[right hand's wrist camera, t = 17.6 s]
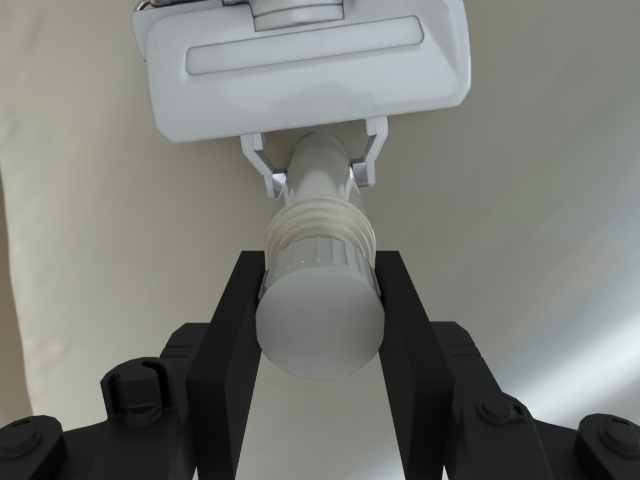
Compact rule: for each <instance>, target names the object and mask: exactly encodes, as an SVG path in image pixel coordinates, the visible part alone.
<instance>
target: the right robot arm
mask: <svg viewBox="0 0 640 480" xmlns="http://www.w3.org/2000/svg"><path fill="white" fill-rule="evenodd" d="M264 274H265V251H242V252H241V254H240V256H239V259H238V261H237V263H236V265H235V268H234V270H233V272H232V274H231V277H230V279H229V281H228V283H227V286H226V288H225V290H224V293H223V295H222V297H221V299H220V302H219V304H218V306H217V308H216V311H215V313H214V315H213V318H212V320H211V322H210V323H185V324H184V325H183V326H181V327H180V328H179V329H177V330H176V331H175V332H174V333H172V335H171V337H170V339H169V340H168V342H167V344H166V346H165V348H164V349H163V351H162V353H161V354H160V358H158V357H142V358H137V359H132V360H129V361H127V362H124V363H122V364H120V365H117V366H116V367H115V368H113V369H112V370H110V371H109V372H108V373H106V375H105V376H104V378H103V379H102V380H101V382H100V384H101V389H102V393H103V398H104V402H105V407H106V411H107V416H108V418H107V420H106V421H104V422H101V423H97V424H94V425H90V426H86V427H82V428H78V429H73V430H69V431H65V432H63V430H62V426H61V423H60V422H59V421H58V420H57V419H56V418H55V417H50V416H45V415H40V416H30V417H26V418H23V419H20V420H17V421H14V422H12V423H10V424H8V425H6V426H4V427H3V428H1V429H0V480H192V479H193V476H194V472H195V469H196V466H197V472H198V479H199V480H235V476H236V471H237V466H238V462H239V457H240V452H241V447H242V443H243V438H244V433H245V428H246V424H247V419H248V414H249V409H250V404H251V400H252V395H253V390H254V385H255V381H256V376H257V371H258V366H259V362H260V357H261V352H262V349H261V347H260V345H259V343H258V340H257V332H256V310H257V306H258V302H259V299H258V295H259V292H260V288H261V284H262V281H263V277H264ZM375 274H376V277H377V281H378V284H379V288H380V292H381V296H380V297H381V301H382V305H383V308H384V312H385V320H384V336H383V341H382V344H381V346H380V348H379V350H378V351H379V356H380V360H381V365H382V370H383V375H384V379H385V384H386V389H387V394H388V398H389V403H390V408H391V413H392V418H393V422H394V427H395V432H396V437H397V441H398V446H399V451H400V456H401V460H402V465H403V470H404V475H405V479H406V480H442V474H443V467H444V466H445V469H446V473H447V476H448V479H449V480H640V426H638V425H636V424H634V423H632V422H630V421H629V420H626V419H623V418H620V417H617V416H614V415H609V414H598V413H597V414H592V415H587V416H585V417H584V418H583V419H582V420H581V421H580V424H579V427H578V430H574V429H570V428H566V427H562V426H557V425H553V424H549V423H545V422H542V421H539V420H536V419H534V418H533V417H532V415H531V414H530V412H529V411H528V409H527V407H526V406H525V405H523V404H522V403H521V402H520V401H518V400H517V399H516V398H514V397H512V396H510V395H508V394H506V393H504V392H502V391H501V389H500V387H499V385H498V384H497V382H496V380H495V378H494V377H493V375H492V373H491V371H490V370H489V368H488V366H487V364H486V363H485V361H484V359H483V357H481V354H480V352H479V350H478V349H477V347H475V343H474V342H473V340H472V338H471V336H470V335H469V333H468V332H467V331H466V330H465V329H463V328H462V327H461V326H460V325H458V324H457V323H456V322H430V321H429V319H428V317H427V315H426V312H425V310H424V308H423V306H422V303H421V301H420V299H419V296H418V294H417V292H416V290H415V287H414V285H413V283H412V281H411V278H410V276H409V274H408V272H407V269H406V267H405V265H404V262H403V260H402V258H401V256H400V253H399V251H376V257H375Z"/></svg>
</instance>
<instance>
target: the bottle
mask: <svg viewBox="0 0 640 480" xmlns="http://www.w3.org/2000/svg"><path fill="white" fill-rule="evenodd" d="M317 237H320V238H330V239H331V238H334V239H335V240H339V241H341V242H347V244H348V245H350V246H352V247H353V248H355V249H356V248H357V249H358V250H359V252H360V253H361V254H362V255H363V256H364V257H365V258H366V257H367V258H368V261H369V264H370V266H371V267H373V264H374V259H375V254H376V240H375V235H374V231H373V228H372V225H371V222H370V219H369V216H368V214H367V211H366V208H365V205H364V202H363V199H362V196H361V193H360V190H359V187H358V184H357V181H356V178H355V175H354V172H353V169H352V167H351V164H350V161H349V158H348V155H347V152H346V149H345V147H344V145H343V144H342V143H341V141H340V140H339V139H337V138H336V137H335V136H333V135H331V134H328V133H323V132H317V133H312V134H309V135H307V136H306V137H304V138H303V139H302V140H300V142H299V143H298V144H297V146H296V147H295V149H294V152H293V155H292V158H291V161H290V164H289V167H288V170H287V173H286V176H285V179H284V182H283V185H282V188H281V191H280V194H279V197H278V200H277V203H276V206H275V209H274V212H273V215H272V217H271V220H270V223H269V226H268V229H267V232H266V236H265V241H264V251H265V258H266V262H267V267H268V268H269V265H270V262H271V260H274V259H275V257H276V256H277V255H278V254H279V252H280V251H283V250H284V249H285V248H287V247H288V246H290V244H291V243H293V244H294V243H296V242H299V241H302V240H303V239H305V238H306V239H311V238H317Z"/></svg>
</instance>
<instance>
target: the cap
mask: <svg viewBox="0 0 640 480" xmlns="http://www.w3.org/2000/svg"><path fill="white" fill-rule="evenodd" d="M380 296H381V292H380V288H379V284H378V281H377V277H376V274H375V270H374V268H372V267H371V266H370V264H369V261H368V258H367V257H366V258H365V257H364V256H363V255H362V254H361V253H360V252H359V250H358V249H357V248H356V249H355V248H353V247H352V246H350V245H348V244H347V242H341V241H339V240H335V239H334V238H331V239H330V238H320V237H317V238H311V239H306V238H305V239H303V240H302V241H299V242H296V243H294V244H293V243H291V244H290V246H288V247H287V248H285V249H284V250H283V251H280V252H279V254H278V255H277V256H276V257H275V259H274V260H271V262H270V265H269V268H268V270H267V271H265V274H264V277H263V281H262V284H261V288H260V292H259V295H258V299H259V302H258V306H257V310H256V332H257V340H258V343H259V345H260V347H261V349H262V351H263V352H264V354H265V355H266V356H267V358H268V359H269V360H270V361H271V362H272V363H273V364H274V365H276V366H277V367H278V368H280V369H281V370H283V371H285V372H286V373H289V374H291V375H293V376H296V377H299V378H303V379H308V380H317V381H320V380H333V379H337V378H342V377H344V376H347V375H350V374H352V373H354V372H356V371H357V370H359V369H361V368H362V367H363V366H365V365H366V364H367V363H368V362H369V361H370V360H371V359H372V358H373V357H374V356H375V354H376V353H377V351H378V350H379V348H380V346H381V344H382V341H383V336H384V320H385V312H384V308H383V305H382V301H381V297H380Z"/></svg>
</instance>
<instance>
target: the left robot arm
mask: <svg viewBox="0 0 640 480" xmlns="http://www.w3.org/2000/svg"><path fill="white" fill-rule="evenodd" d="M181 3H186V4H181ZM149 4H151V6H152V7H154V8H152V9H146V10H143V9H144V8H145V7H146V6H147V5H149ZM176 4H179V5H176ZM132 27H133V31H134V35H135V39H136V43H137V47H138V50H139V52H140V54H141V56H142V58H143V59H144V60H145V62H146V70H147V80H148V88H149V95H150V101H151V107H152V112H153V117H154V122H155V126H156V129H157V131H158V132H159V133H160V134H161V135H162V136H163V137H164V138H165V139H166V140H168V141H169V142H170V143H172V144H180V143H188V142H195V141H203V140H210V139H218V138H225V137H233V136H240V140H241V146H242V151H243V154H244V155H245V156H246V157H247V158H248V159H249V161H250V162H251V163H252V164H253V165H254V167H255V168H256V169H257V170H258V171H259V172H260V174H261V175H264V179H265V185H266V190H267V196H268V198H269V199H273V198H278V197H279V194H280V191H281V188H282V185H283V182H284V179H285V176H286V173H287V168H279V169H275V167H274V166H273V165H272V163H271V162H270V161H269V159H268V158H267V157H266V156H265V154H264V153H263V152H262V149H263V147H264V146H265V145H266V137H265V132H270V131H278V130H285V129H293V128H300V127H308V126H315V125H323V124H330V123H338V122H345V121H353V120H360V119H363V124H364V131H365V132H366V134H367V135H369V136H371V137H370V139H369V141H368V144H367V146H366V148H365V151H364V153H363V155H362V158H357V159H351V167H352V169H353V172H354V175H355V178H356V181H357V184H358V187H368V186H375V172H374V161H376V158H377V156H378V154H379V152H380V150H381V148H382V146H383V144H384V142H385V140H386V137H387V135H388V123H387V116H390V115H398V114H405V113H412V112H420V111H427V110H435V109H442V108H450V107H456V106H458V105H460V104H461V102H462V101H463V100H464V98H465V97H466V95H467V93H468V92H469V90H470V87H471V55H470V43H469V34H468V26H467V20H466V13H465V8H464V4H463V0H140V1H139V2H138V4H137V5H136V7H135V9H134V11H133V14H132Z"/></svg>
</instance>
